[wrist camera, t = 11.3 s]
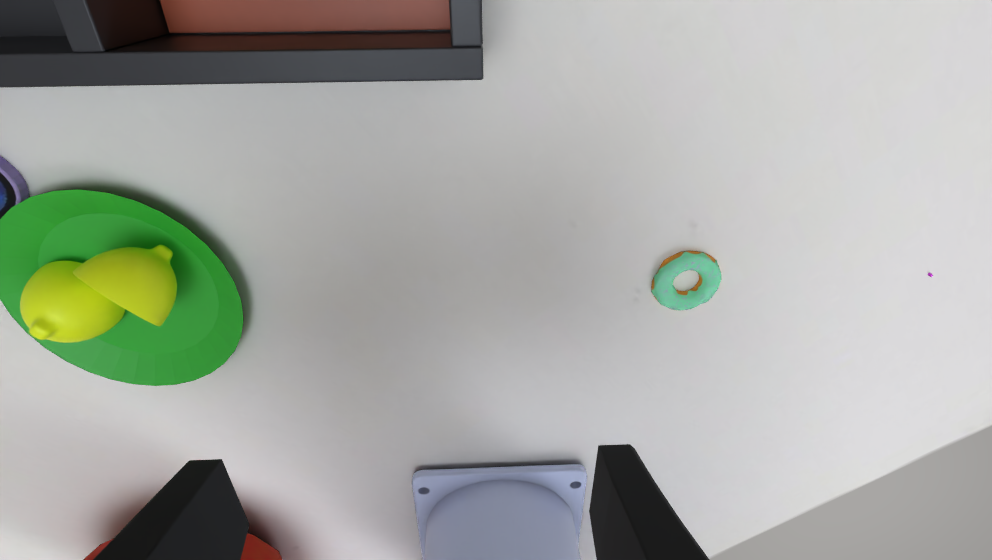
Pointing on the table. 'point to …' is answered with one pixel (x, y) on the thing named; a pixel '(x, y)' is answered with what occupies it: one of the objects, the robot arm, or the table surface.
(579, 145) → the table surface
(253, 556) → the apple
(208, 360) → the green plate
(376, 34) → the tray
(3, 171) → the smartphone
